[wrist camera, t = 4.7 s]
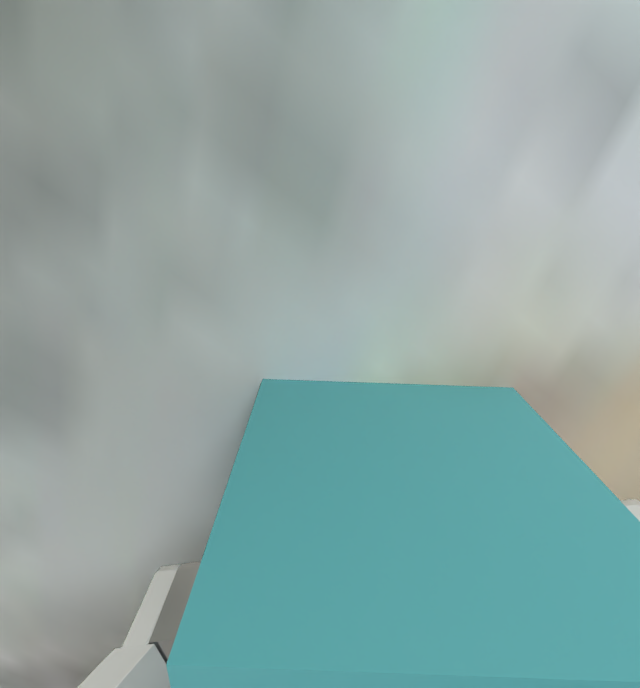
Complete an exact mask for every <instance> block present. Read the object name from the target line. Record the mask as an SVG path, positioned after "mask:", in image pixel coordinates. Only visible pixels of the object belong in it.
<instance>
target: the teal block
mask: <svg viewBox="0 0 640 688" xmlns="http://www.w3.org/2000/svg"><path fill="white" fill-rule="evenodd" d="M166 666H167V671H168V676H169V681H170V687H171V688H640V521H639V520H638V519H637V518H636V517H635V516H634V515H633V514H632V513H631V512H630V511H629V510H628V509H627V507H626V506H625V505H624V504H623V503H622V502H621V501H620V500H619V499H618V498H617V497H616V496H615V495H614V494H613V493H612V492H611V491H610V490H609V489H608V487H607V486H606V485H605V484H604V483H603V482H602V481H601V480H600V479H599V478H598V477H597V476H596V475H595V474H594V473H593V472H592V471H591V470H590V468H589V467H588V466H587V465H586V464H585V463H584V462H583V461H582V460H581V459H580V458H579V457H578V456H577V455H576V454H575V453H574V452H573V451H572V449H571V448H570V447H569V446H568V445H567V444H566V443H565V442H564V441H563V440H562V439H561V438H560V437H559V436H558V435H557V434H556V433H555V432H554V431H553V429H552V428H551V427H550V426H549V425H548V424H547V423H546V422H545V421H544V420H543V419H542V418H541V417H540V416H539V415H538V414H537V413H536V412H535V410H534V409H533V408H532V407H531V406H530V405H529V404H528V403H527V402H526V401H525V400H524V399H523V398H522V397H521V396H520V395H519V394H518V393H517V391H516V390H515V389H514V388H506V387H477V386H448V385H419V384H390V383H361V382H332V381H303V380H273V379H263V380H262V383H261V386H260V388H259V391H258V394H257V397H256V400H255V403H254V406H253V409H252V412H251V415H250V418H249V421H248V424H247V427H246V430H245V433H244V436H243V439H242V442H241V445H240V448H239V451H238V454H237V457H236V460H235V463H234V465H233V468H232V471H231V474H230V477H229V480H228V483H227V486H226V489H225V492H224V495H223V498H222V501H221V504H220V507H219V510H218V513H217V516H216V519H215V522H214V525H213V528H212V531H211V534H210V537H209V540H208V543H207V545H206V548H205V551H204V554H203V557H202V560H201V563H200V566H199V569H198V572H197V575H196V578H195V581H194V584H193V587H192V590H191V593H190V596H189V599H188V602H187V605H186V608H185V611H184V614H183V617H182V620H181V622H180V625H179V628H178V631H177V634H176V637H175V640H174V643H173V646H172V649H171V652H170V655H169V658H168V661H167V664H166Z"/></svg>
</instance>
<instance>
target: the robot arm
mask: <svg viewBox="0 0 640 688" xmlns="http://www.w3.org/2000/svg"><path fill="white" fill-rule="evenodd" d="M621 502H622V503H623V504H624V505H625V506H626V507H627V509H628V510H629V511H630V512H631V513H632V514H633V515H634V516H635V517H636V518H637V519H638V520H639V521H640V501H638V500H636V499H630V500H623V501H621ZM200 563H201V561H200V562H191V563H183V564H176V565H168V566H161V567H160V568H159V570H158V571H157V572H156V573H155V575H154V577H153V579H152V581H151V583H150V586H149V588H148V590H147V592H146V594H145V597H144V599H143V601H142V603H141V606H140V608H139V610H138V612H137V614H136V617H135V619H134V621H133V623H132V625H131V628H130V630H129V632H128V634H127V636H126V639H125V641H124V643H123V645H122V647H121V648H115V649H114V650H113V651H112V652H111V653H110V654H109V655H108V656H107V657H106V658H105V659H104V660H103V661H102V662H101V663H100V664H99V665H98V666H97V667H96V668H95V669H94V670H93V671H92V672H91V674H90V675H89V676H88V677H87V678H86V679H85V680H84V681H83V682H82V683H81V684H80V685H79V686H78V687H77V688H171V687H170V681H169V676H168V671H167V666H166V664H167V661H168V658H169V655H170V652H171V649H172V646H173V643H174V640H175V637H176V634H177V631H178V628H179V625H180V622H181V620H182V617H183V614H184V611H185V608H186V605H187V602H188V599H189V596H190V593H191V590H192V587H193V584H194V581H195V578H196V575H197V572H198V569H199V566H200Z"/></svg>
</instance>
